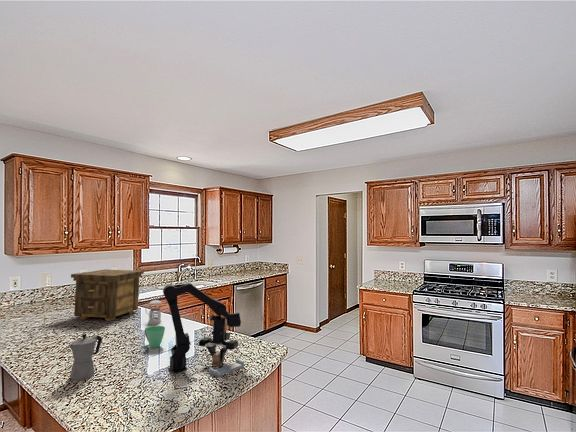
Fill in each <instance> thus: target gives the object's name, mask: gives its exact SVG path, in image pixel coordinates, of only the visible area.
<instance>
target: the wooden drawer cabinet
mask: <svg viewBox="0 0 576 432" xmlns="http://www.w3.org/2000/svg"><path fill="white" fill-rule="evenodd" d="M143 274H145V271H144V270H131V269H130V270H129V269H127V270H126V269H124V270H123V269H100V270H92V271H85V272H77V273H71V275H70V278H72V279H73V281H74V282H75V293H74V295H75V296H74V311H73V312H74V314H73V316H74V317H79V320H87V319H89V318H104V319H105V321H108V322H111V321H114V320H116V317H117V316H121V315H124V314H125V315H130V314H133V313H134V311H137V310H139V295H140V294H139V290H140V289H139V288H140V278H141V277H142V275H143Z"/></svg>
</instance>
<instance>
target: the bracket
mask: <svg viewBox="0 0 576 432" xmlns="http://www.w3.org/2000/svg"><path fill="white" fill-rule="evenodd" d="M244 367H245V361H243V360H241V359H239V358H236V359H235V361H234V362H233V363H230V364H227V363H225V362H224V363H222V367H219V368H217V369H214V368H212V367H211V368H209V369H208V371H209V374H208V375H210V374H211V375H210V376H212V375H213V377H214V376H215V377H214V378H219V377H221V376H224V375H227V374H230V373H232V372H234V371H237V370H239V369H242V368H244ZM226 373H227V374H226ZM223 374H224V375H223ZM218 376H219V377H218Z"/></svg>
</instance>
